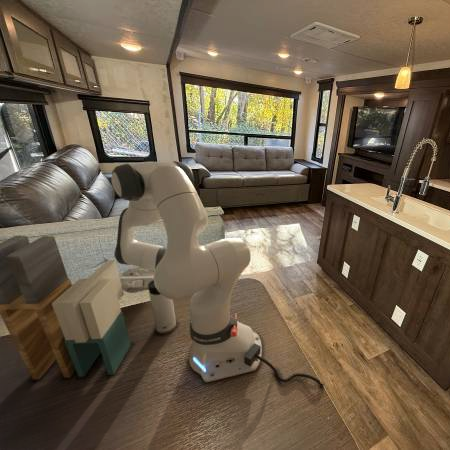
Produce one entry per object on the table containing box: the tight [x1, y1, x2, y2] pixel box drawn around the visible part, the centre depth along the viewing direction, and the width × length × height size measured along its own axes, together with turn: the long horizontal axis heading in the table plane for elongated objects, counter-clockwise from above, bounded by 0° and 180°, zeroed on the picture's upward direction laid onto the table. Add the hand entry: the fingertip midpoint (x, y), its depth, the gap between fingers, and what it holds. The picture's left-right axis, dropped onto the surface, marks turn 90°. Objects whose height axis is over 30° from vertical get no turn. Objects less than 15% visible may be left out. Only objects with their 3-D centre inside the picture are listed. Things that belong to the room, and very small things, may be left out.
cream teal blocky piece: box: [52, 278, 132, 377], centre depth 69 cm, size 9×10×26 cm
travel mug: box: [148, 280, 177, 335], centre depth 83 cm, size 6×7×20 cm
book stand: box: [0, 235, 76, 380], centre depth 65 cm, size 9×10×39 cm
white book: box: [61, 259, 125, 343], centre depth 69 cm, size 2×19×13 cm, turn 8°
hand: (113, 284), depth 77 cm, fingers open, 8 cm apart
